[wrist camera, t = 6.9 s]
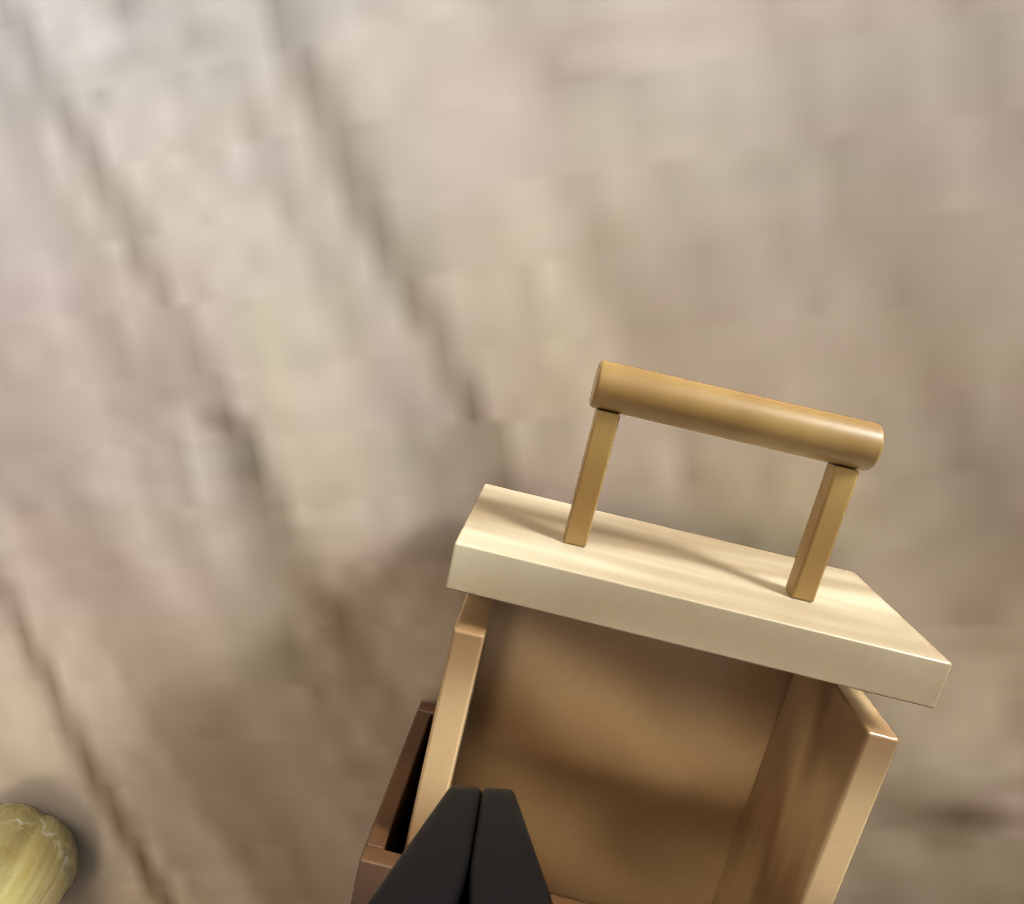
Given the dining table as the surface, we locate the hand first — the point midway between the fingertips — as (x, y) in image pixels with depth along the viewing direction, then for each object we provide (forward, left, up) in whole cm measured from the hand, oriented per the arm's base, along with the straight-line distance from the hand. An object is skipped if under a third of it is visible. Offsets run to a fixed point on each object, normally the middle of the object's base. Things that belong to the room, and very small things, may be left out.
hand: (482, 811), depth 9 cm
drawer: (-4, -4, -13) cm, 14 cm away
